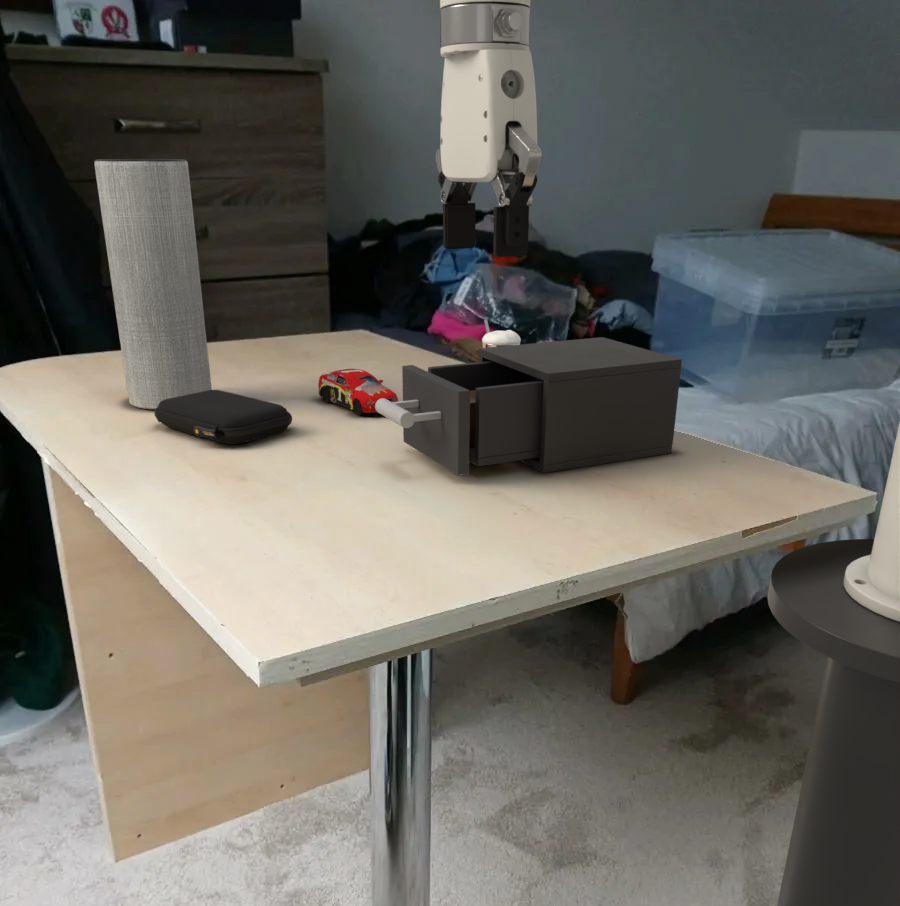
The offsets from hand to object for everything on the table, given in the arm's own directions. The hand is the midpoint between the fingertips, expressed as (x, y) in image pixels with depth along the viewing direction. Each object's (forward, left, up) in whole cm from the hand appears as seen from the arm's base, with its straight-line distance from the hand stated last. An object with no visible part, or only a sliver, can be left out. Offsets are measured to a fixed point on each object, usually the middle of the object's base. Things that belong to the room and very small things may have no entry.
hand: (483, 252), depth 86 cm
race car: (+26, +3, -20) cm, 33 cm away
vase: (+38, +23, -20) cm, 49 cm away
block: (0, 0, -18) cm, 18 cm away
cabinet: (0, -11, -20) cm, 23 cm away
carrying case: (+22, +21, -20) cm, 36 cm away
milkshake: (+18, -12, -20) cm, 30 cm away
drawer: (0, 0, -19) cm, 19 cm away
